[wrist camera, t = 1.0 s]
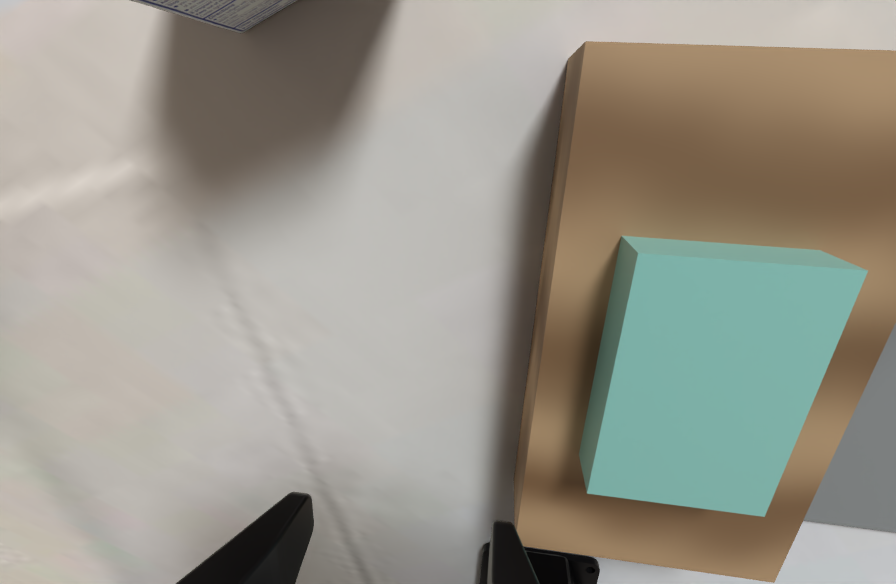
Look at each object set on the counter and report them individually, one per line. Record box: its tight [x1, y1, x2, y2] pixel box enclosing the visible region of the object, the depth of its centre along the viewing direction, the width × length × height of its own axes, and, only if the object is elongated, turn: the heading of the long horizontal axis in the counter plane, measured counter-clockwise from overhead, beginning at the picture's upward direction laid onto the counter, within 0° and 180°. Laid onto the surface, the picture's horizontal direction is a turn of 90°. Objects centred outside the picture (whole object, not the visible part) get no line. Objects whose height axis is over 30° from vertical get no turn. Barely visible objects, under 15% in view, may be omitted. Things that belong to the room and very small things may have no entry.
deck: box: [514, 41, 896, 582], centre depth 18 cm, size 20×11×4 cm, turn 177°
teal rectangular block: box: [579, 236, 868, 517], centre depth 15 cm, size 9×6×2 cm, turn 177°
